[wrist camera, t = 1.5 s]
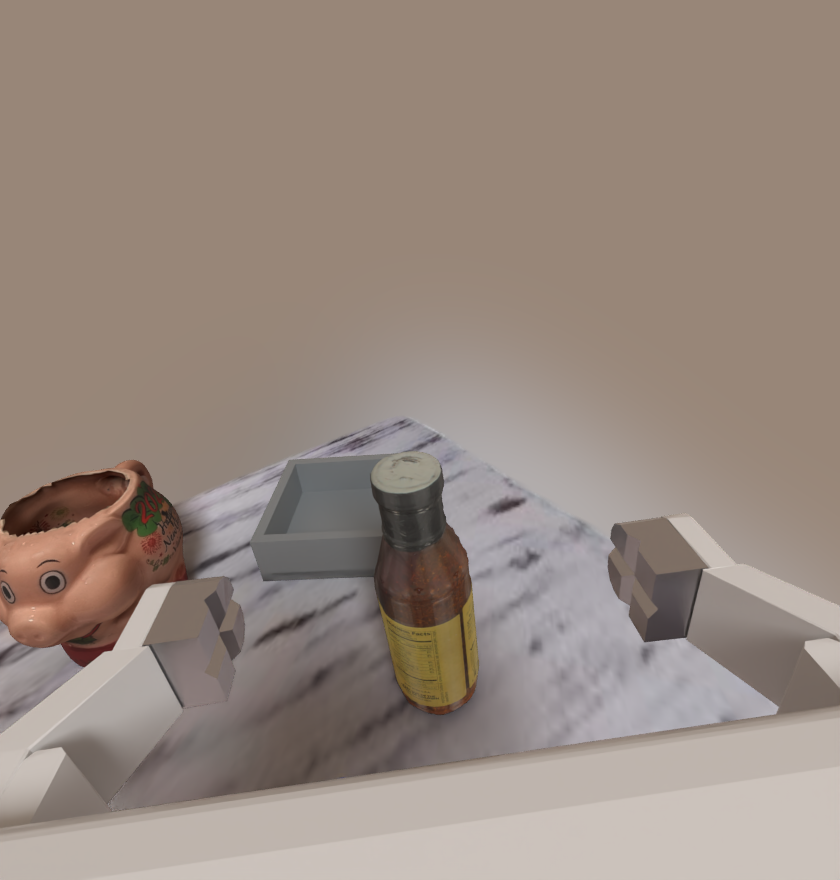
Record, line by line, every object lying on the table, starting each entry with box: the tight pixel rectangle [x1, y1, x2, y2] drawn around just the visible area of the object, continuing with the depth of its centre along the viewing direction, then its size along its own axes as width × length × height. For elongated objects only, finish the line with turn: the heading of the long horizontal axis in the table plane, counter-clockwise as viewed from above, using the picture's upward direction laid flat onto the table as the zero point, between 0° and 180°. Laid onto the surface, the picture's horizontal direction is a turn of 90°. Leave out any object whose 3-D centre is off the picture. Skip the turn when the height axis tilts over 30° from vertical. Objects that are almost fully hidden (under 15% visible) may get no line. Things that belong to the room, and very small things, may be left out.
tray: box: [250, 453, 398, 581], centre depth 52 cm, size 14×14×5 cm
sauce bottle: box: [370, 451, 479, 715], centre depth 32 cm, size 7×6×20 cm
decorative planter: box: [0, 460, 188, 667], centre depth 43 cm, size 20×12×14 cm, turn 11°
